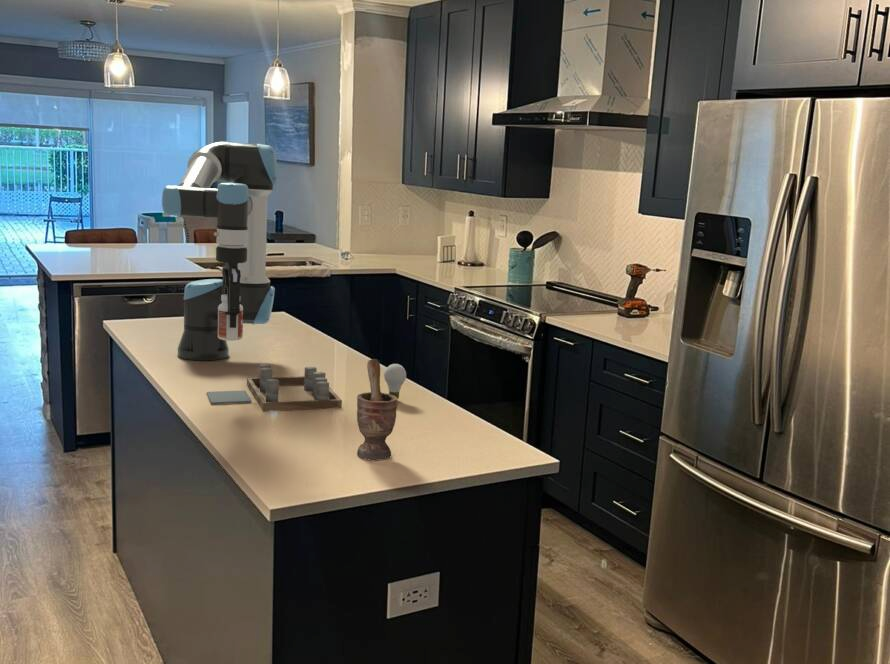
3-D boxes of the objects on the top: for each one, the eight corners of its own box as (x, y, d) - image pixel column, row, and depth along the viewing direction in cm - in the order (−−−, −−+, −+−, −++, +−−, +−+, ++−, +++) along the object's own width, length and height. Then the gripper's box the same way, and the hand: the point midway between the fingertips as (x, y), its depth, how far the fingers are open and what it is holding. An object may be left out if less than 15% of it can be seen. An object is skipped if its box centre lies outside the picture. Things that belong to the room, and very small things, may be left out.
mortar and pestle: (340, 447, 193) (344, 359, 189) (374, 442, 198) (379, 356, 194) (366, 463, 184) (371, 371, 180) (401, 458, 189) (406, 368, 185)
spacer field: (246, 385, 239) (247, 363, 237) (318, 382, 246) (319, 362, 245) (262, 411, 216) (263, 387, 215) (341, 407, 223) (342, 385, 222)
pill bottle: (246, 340, 221) (247, 297, 219) (222, 341, 218) (223, 297, 215) (237, 335, 226) (238, 293, 224) (214, 336, 223) (214, 293, 220)
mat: (206, 393, 227) (206, 391, 227) (245, 392, 231) (245, 390, 231) (211, 404, 218) (211, 402, 218) (251, 403, 222) (251, 400, 222)
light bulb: (408, 399, 235) (410, 363, 233) (399, 404, 229) (402, 367, 227) (387, 396, 237) (389, 360, 235) (379, 401, 231) (381, 364, 229)
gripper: (211, 241, 225) (210, 329, 229) (221, 250, 207) (219, 345, 212) (241, 242, 227) (239, 329, 232) (253, 250, 210) (251, 344, 214)
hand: (230, 336), depth 222 cm, fingers closed on pill bottle, 6 cm apart
